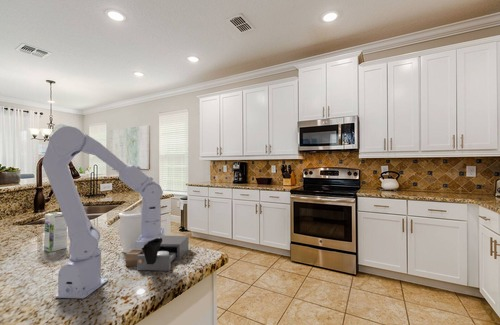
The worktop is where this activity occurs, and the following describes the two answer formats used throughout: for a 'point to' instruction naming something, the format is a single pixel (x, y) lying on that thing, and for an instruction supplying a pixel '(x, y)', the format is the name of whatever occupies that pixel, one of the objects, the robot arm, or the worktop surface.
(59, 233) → the syrup box
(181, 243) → the block
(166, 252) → the white dome cap
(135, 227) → the jar
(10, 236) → the worktop surface
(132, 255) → the walnut block
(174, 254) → the grey drawer
